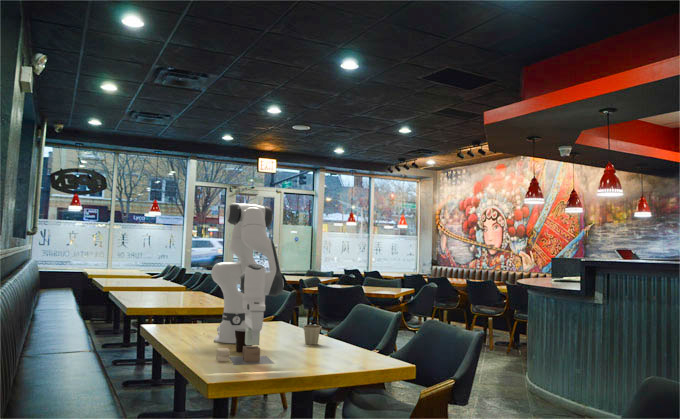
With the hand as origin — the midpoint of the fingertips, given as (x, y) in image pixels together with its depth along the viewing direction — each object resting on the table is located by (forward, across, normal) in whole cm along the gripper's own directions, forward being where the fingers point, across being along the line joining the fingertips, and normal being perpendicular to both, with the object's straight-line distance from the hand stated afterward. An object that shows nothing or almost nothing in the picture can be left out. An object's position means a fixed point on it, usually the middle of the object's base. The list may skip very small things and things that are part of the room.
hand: (252, 338), depth 214 cm
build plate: (+9, 0, 0) cm, 9 cm away
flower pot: (+10, -39, +37) cm, 55 cm away
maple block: (+9, -2, -11) cm, 15 cm away
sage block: (+2, 0, 0) cm, 2 cm away
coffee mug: (+9, -21, +1) cm, 23 cm away
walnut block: (+8, 0, 0) cm, 8 cm away
